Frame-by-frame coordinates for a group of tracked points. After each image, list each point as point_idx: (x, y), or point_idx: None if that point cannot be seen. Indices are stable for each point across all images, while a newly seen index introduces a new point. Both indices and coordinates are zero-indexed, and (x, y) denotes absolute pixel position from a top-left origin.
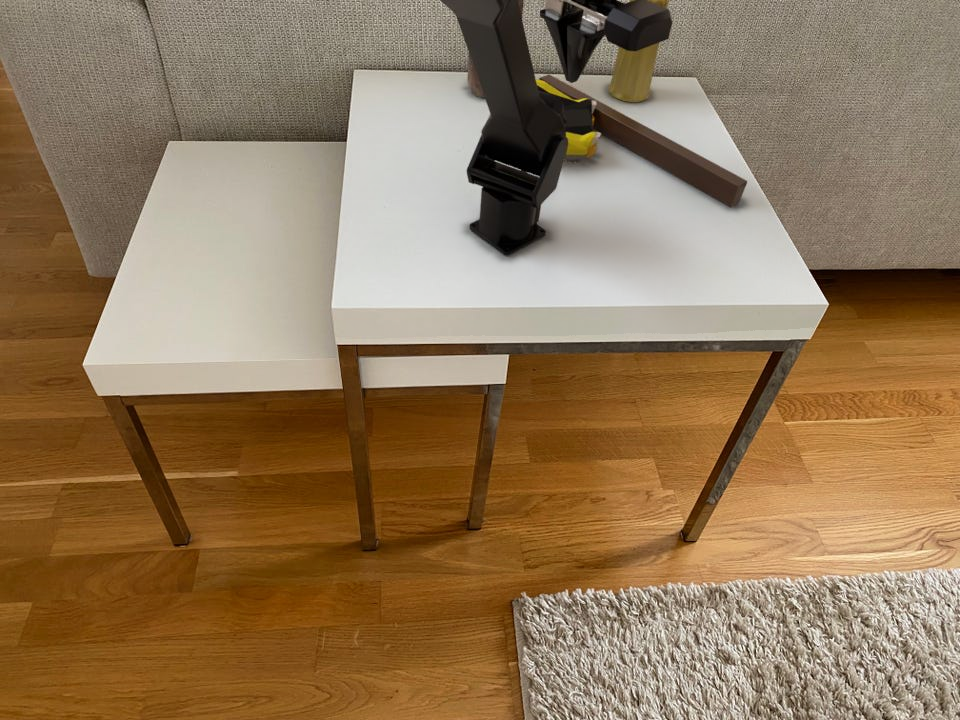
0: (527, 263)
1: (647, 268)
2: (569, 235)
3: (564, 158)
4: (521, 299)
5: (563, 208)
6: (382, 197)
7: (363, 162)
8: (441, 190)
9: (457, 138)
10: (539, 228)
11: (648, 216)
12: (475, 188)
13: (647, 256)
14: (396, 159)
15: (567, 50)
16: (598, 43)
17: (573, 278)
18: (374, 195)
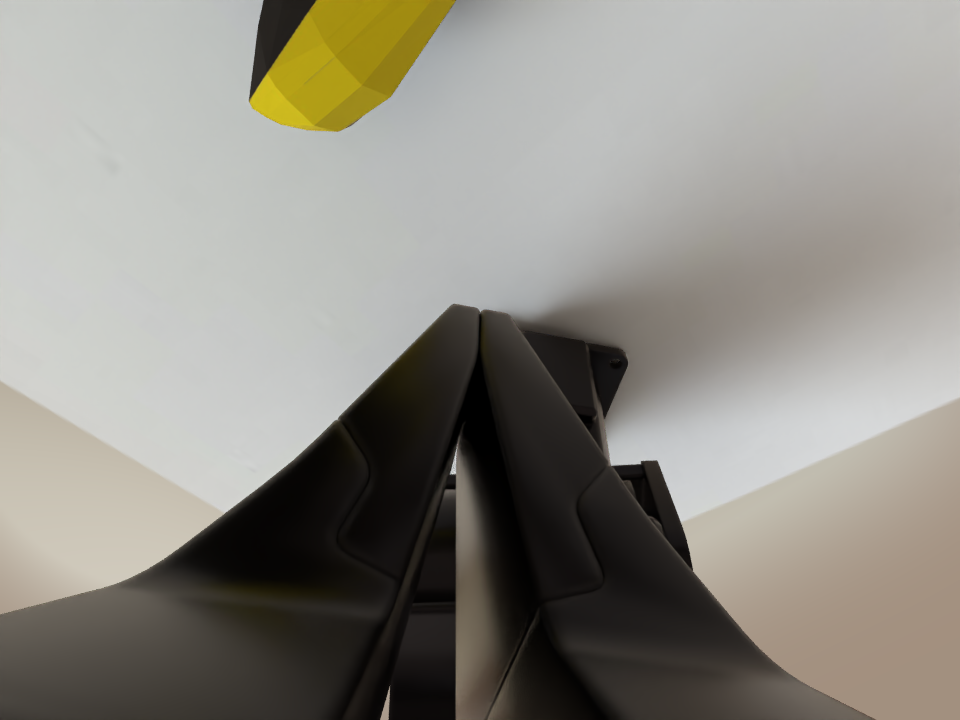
0: (635, 443)
1: (952, 297)
2: (683, 310)
3: (677, 514)
4: None
5: (606, 212)
6: (215, 451)
7: (41, 386)
8: (276, 359)
9: (19, 94)
10: (603, 360)
11: (929, 36)
12: (329, 298)
13: (947, 252)
14: (65, 327)
15: (458, 677)
16: (692, 582)
17: (757, 427)
18: (197, 455)
